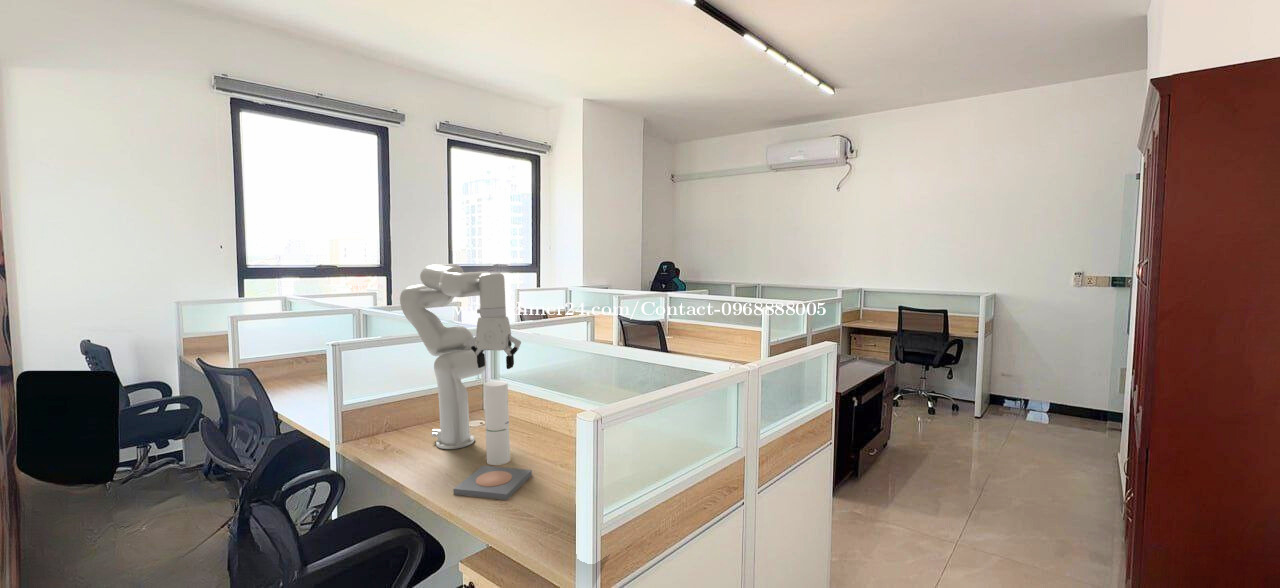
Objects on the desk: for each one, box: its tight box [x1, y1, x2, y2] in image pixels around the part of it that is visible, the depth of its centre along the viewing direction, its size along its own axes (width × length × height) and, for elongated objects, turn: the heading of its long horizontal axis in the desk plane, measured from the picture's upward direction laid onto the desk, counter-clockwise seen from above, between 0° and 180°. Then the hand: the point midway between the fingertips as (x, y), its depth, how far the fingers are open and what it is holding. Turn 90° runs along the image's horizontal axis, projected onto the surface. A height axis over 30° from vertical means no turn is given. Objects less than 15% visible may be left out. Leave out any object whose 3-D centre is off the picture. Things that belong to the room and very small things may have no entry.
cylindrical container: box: [483, 379, 511, 466], centre depth 173 cm, size 7×7×25 cm
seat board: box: [452, 465, 533, 501], centre depth 157 cm, size 16×16×2 cm
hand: (495, 367), depth 171 cm, fingers open, 9 cm apart
